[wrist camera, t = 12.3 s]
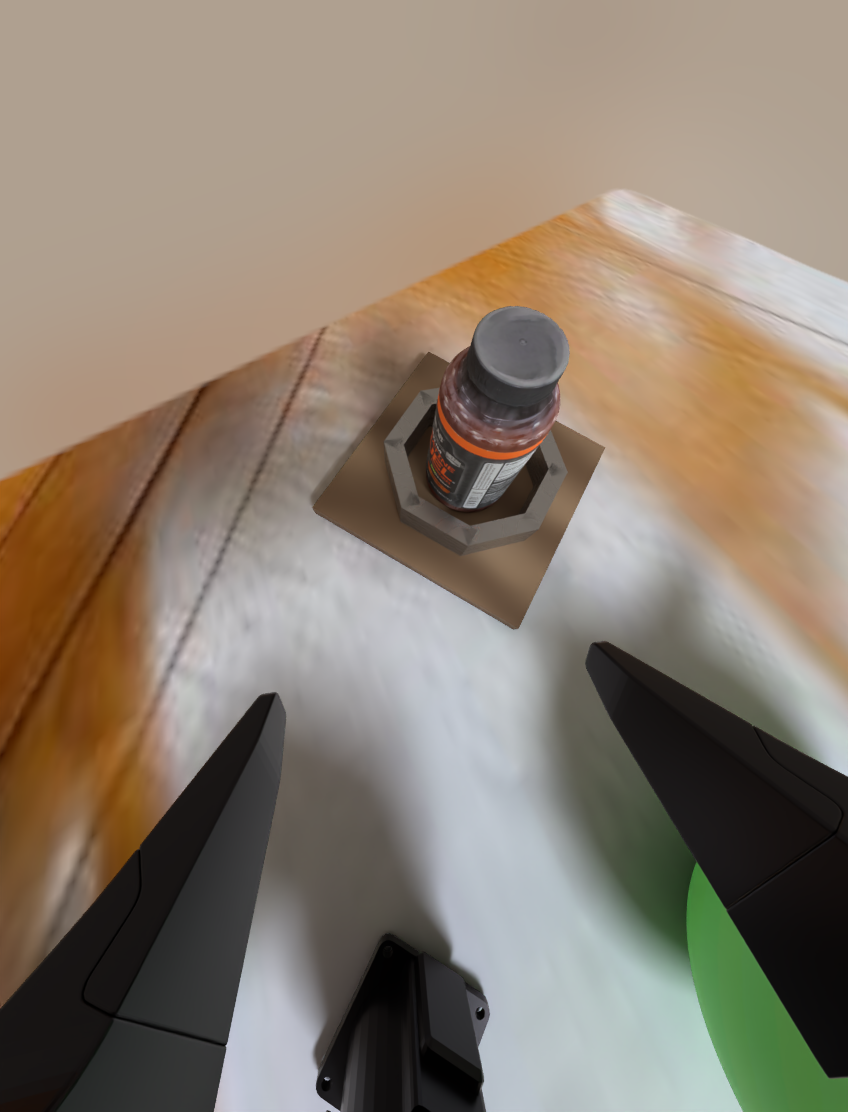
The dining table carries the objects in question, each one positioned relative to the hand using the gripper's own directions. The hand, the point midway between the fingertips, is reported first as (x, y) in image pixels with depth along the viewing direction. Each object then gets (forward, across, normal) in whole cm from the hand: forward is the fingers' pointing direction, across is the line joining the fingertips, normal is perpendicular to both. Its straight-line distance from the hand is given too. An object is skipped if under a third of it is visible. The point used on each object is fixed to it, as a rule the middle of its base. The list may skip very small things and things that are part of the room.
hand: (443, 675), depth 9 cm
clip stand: (+17, -6, 0) cm, 18 cm away
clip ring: (+17, -6, 0) cm, 18 cm away
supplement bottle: (+17, -5, 0) cm, 18 cm away
